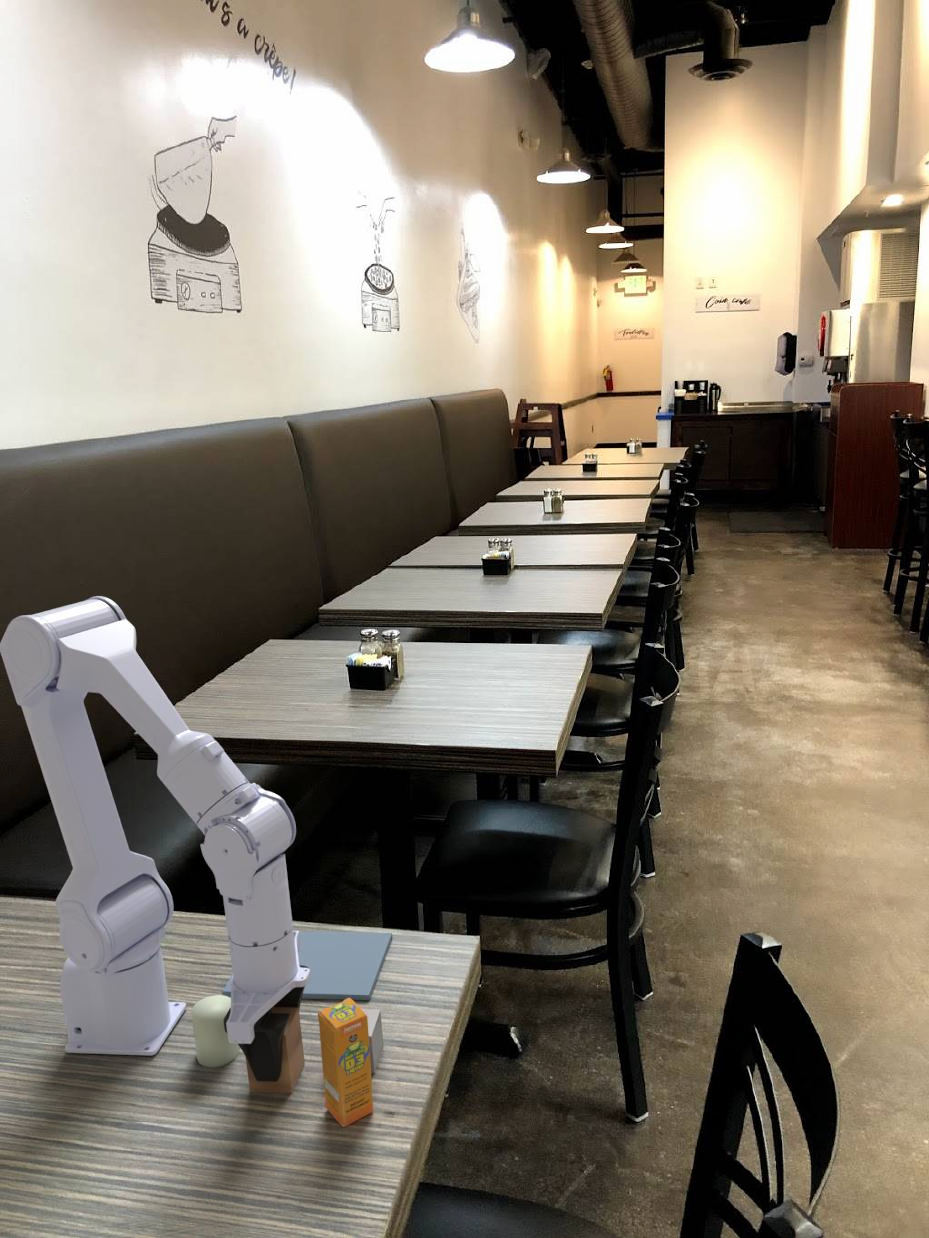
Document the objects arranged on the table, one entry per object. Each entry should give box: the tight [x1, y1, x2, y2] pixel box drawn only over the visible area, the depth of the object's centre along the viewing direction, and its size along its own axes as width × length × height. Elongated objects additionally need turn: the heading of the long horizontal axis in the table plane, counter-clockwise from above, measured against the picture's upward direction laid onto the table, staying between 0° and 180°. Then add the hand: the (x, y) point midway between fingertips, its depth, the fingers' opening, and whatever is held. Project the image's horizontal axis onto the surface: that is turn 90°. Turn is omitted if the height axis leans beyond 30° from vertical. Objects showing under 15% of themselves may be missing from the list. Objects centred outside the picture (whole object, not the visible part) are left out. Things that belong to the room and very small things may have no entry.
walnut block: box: [245, 1007, 306, 1094], centre depth 90 cm, size 4×4×6 cm
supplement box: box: [317, 998, 374, 1128], centre depth 84 cm, size 3×3×10 cm
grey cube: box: [361, 1008, 384, 1074], centre depth 92 cm, size 4×4×4 cm
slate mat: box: [221, 930, 393, 1001], centre depth 108 cm, size 16×12×1 cm
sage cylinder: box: [191, 994, 240, 1068], centre depth 94 cm, size 4×4×5 cm
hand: (276, 1061), depth 90 cm, fingers closed on walnut block, 4 cm apart
